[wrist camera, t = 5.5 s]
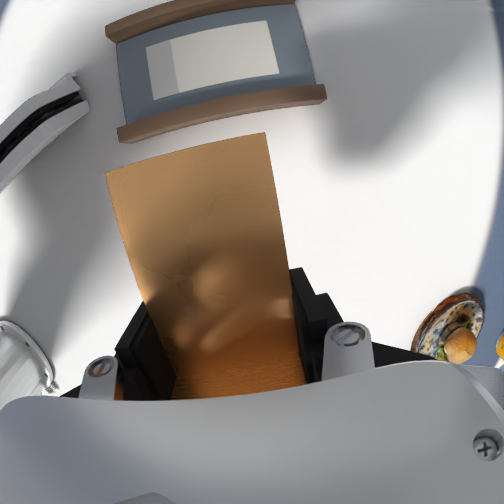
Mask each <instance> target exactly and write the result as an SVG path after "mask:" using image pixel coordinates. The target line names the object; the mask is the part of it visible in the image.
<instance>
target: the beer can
mask: <svg viewBox="0 0 504 504" xmlns="http://www.w3.org/2000/svg"><path fill="white" fill-rule="evenodd" d="M496 348H497V354H498V355H499V356H500V357H501V358H502V359H503V360H504V331H503V332H502V333H501V335H500V336H499V338H498V341H497V344H496Z"/></svg>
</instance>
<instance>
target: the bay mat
mask: <svg viewBox="0 0 504 504" xmlns="http://www.w3.org/2000/svg"><path fill="white" fill-rule="evenodd" d="M116 49H117V59H118V69H119V77H120V85H121V92H122V99H123V106H124V112H125V118H126V124H127V125H128V124H130V123H133V122H136V121H139V120H142V119H145V118H148V117H151V116H155V115H158V114H161V113H165V112H168V111H171V110H175V109H179V108H182V107H186V106H190V105H194V104H198V103H202V102H206V101H211V100H215V99H220V98H225V97H230V96H235V95H240V94H246V93H252V92H258V91H264V90H271V89H279V88H287V87H296V86H307V85H316V83H315V78H314V74H313V70H312V66H311V62H310V58H309V54H308V50H307V46H306V42H305V39H304V35H303V32H302V28H301V25H300V21H299V18H298V15H297V11H296V8H295V5H294V4H286V5H272V6H262V7H253V8H245V9H239V10H232V11H226V12H221V13H216V14H211V15H206V16H202V17H197V18H193V19H189V20H186V21H182V22H178V23H175V24H171V25H168V26H165V27H161V28H158V29H155V30H152V31H149V32H146V33H144V34H141V35H138V36H135V37H133V38H130V39H128V40H125V41H123V42H120V43H118V44H116Z"/></svg>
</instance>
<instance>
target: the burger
mask: <svg viewBox="0 0 504 504" xmlns="http://www.w3.org/2000/svg"><path fill="white" fill-rule="evenodd" d="M483 311H484V310H483V308H482V304H481V302H480V301H479V300H478V299H477V298H475V297H474V296H473V295H471V294H467V293H465V294H461V296H451V297H450V298H447V299H445V300H444V302H443V304H442V305H438V306H437V307H436V308H435V309H434V311H433V312H431V313H429V314H428V316H427V317H426V318H425V319H424V321H423V322H422V324H421V325H420V327H419V329H418V330H417V332H416V334H415V336H414V339H413V342H412V346H411V351H413V352H417V353H422V354H426V355H429V356H432V357H434V358H435V359H437V360H439V361H447V362H451V363H454V364H460V363H463V362H465V361H467V360H468V359H469V358H470V357H471V356H472V355H473V354H474V352H475V350H476V346H477V340H476V339H477V337H478V336H479V333H480V331H481V328H482V326H483V323H484V318H485V317H484V315H483Z"/></svg>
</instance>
